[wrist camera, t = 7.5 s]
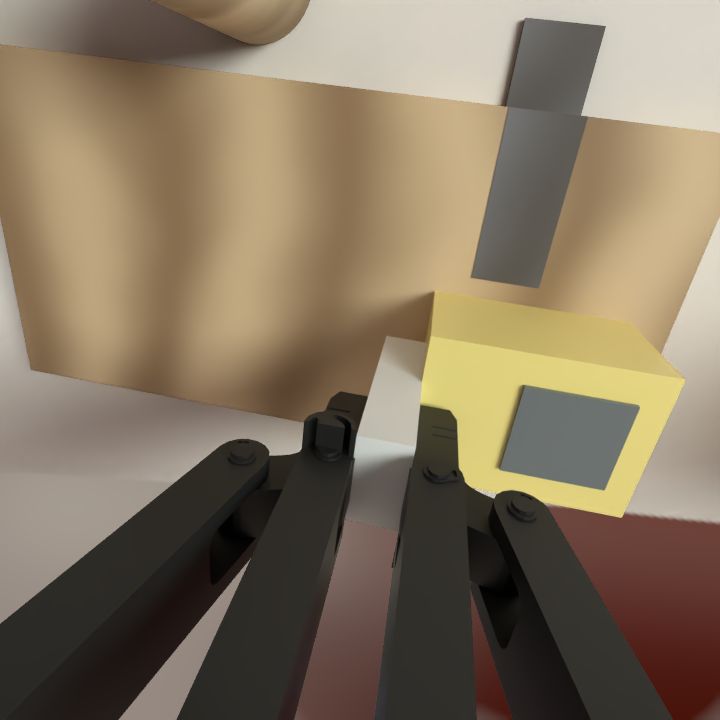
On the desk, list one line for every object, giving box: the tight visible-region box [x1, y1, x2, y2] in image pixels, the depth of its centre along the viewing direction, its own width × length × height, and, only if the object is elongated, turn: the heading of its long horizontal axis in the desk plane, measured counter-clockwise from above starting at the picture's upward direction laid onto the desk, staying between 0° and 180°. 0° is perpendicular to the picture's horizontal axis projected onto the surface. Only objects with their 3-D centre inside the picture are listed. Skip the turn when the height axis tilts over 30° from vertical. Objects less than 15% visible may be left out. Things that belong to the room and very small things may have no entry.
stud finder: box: [420, 291, 686, 518], centre depth 17 cm, size 7×5×5 cm
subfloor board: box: [0, 18, 720, 489], centre depth 19 cm, size 26×18×1 cm
